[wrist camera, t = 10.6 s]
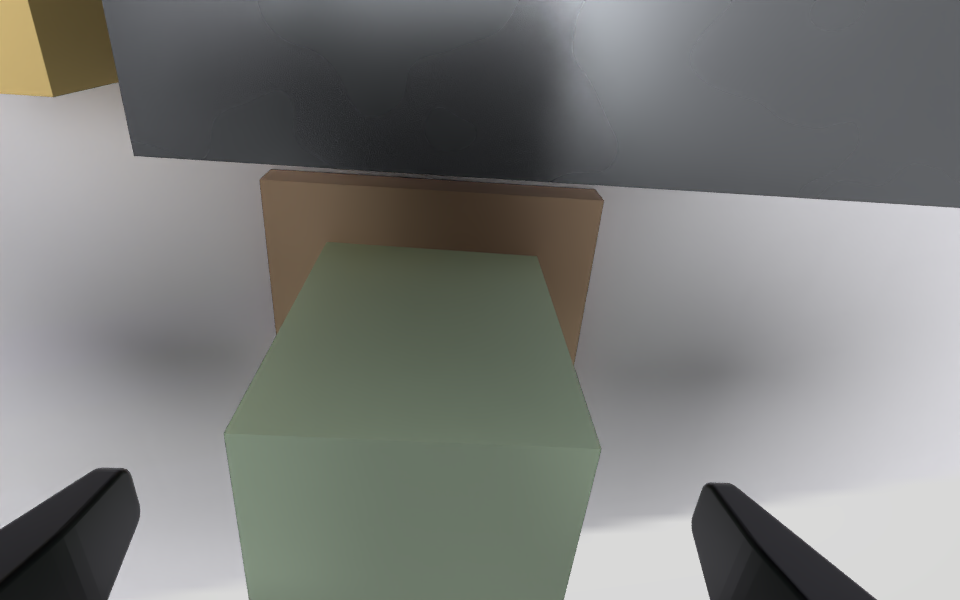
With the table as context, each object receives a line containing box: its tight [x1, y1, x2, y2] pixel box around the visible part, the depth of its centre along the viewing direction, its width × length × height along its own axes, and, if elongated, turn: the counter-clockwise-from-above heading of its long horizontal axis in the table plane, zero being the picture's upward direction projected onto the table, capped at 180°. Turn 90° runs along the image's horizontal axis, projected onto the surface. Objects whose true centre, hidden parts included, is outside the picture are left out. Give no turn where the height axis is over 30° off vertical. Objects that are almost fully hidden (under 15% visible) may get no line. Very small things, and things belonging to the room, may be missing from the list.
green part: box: [224, 242, 601, 600], centre depth 10 cm, size 4×4×6 cm
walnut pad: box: [260, 169, 604, 366], centre depth 13 cm, size 7×7×1 cm
